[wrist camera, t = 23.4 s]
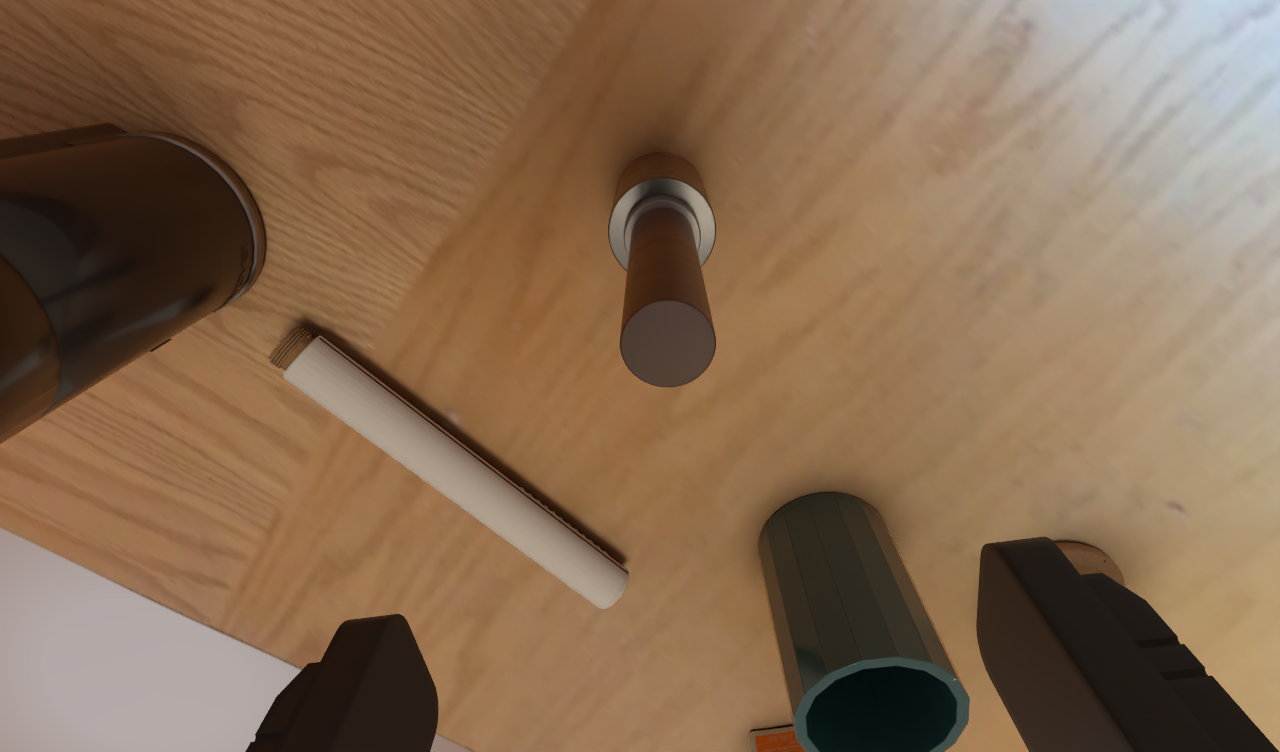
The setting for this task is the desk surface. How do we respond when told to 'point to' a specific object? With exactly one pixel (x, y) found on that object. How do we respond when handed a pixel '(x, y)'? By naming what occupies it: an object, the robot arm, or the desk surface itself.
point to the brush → (664, 269)
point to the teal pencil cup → (855, 633)
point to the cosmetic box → (775, 740)
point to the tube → (448, 465)
